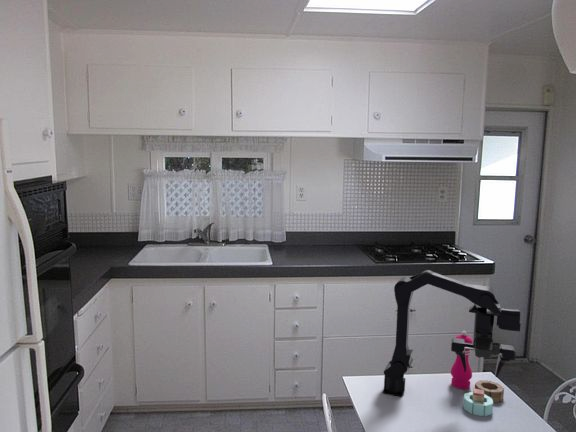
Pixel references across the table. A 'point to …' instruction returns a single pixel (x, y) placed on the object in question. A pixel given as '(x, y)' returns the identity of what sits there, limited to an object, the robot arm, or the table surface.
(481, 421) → the table surface
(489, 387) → the brown segmented ring
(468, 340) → the pepper mill
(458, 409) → the table surface
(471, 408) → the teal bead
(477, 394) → the pink two-tone square block
